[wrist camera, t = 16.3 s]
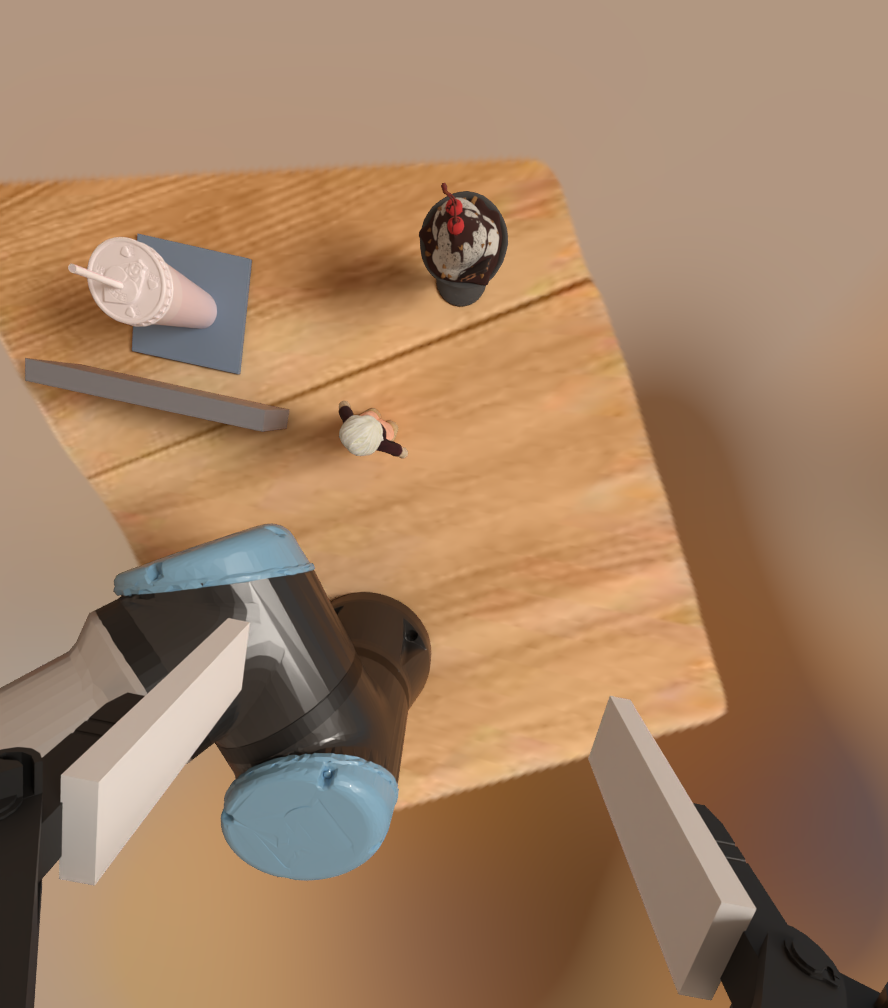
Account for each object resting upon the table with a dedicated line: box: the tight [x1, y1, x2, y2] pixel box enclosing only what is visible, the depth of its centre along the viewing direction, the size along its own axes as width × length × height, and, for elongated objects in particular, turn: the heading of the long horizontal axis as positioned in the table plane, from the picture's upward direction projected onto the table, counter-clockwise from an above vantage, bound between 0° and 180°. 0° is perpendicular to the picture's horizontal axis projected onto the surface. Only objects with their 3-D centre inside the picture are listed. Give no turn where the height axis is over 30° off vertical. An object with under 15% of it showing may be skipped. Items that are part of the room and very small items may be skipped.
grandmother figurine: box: [339, 401, 408, 458], centre depth 40 cm, size 8×4×13 cm, turn 63°
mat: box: [132, 234, 252, 374], centre depth 43 cm, size 11×11×1 cm
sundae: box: [419, 183, 508, 306], centre depth 35 cm, size 7×7×15 cm
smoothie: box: [68, 237, 217, 329], centre depth 36 cm, size 6×6×14 cm
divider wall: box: [25, 358, 289, 432], centre depth 43 cm, size 2×22×6 cm, turn 78°
